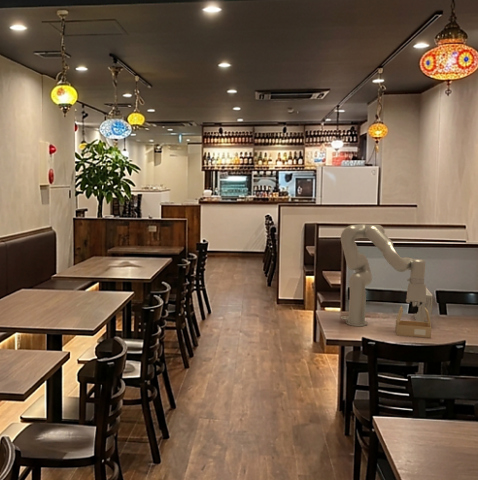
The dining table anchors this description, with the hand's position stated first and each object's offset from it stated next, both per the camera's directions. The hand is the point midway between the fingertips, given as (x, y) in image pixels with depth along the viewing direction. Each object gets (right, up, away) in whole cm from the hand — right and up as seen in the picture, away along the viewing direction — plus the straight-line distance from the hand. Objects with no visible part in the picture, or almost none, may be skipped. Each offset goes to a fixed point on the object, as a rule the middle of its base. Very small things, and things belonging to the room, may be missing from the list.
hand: (415, 313), depth 301 cm
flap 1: (-9, -5, +2) cm, 11 cm away
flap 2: (+8, -6, -1) cm, 10 cm away
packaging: (+14, -10, +29) cm, 33 cm away
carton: (-1, -12, +1) cm, 12 cm away
